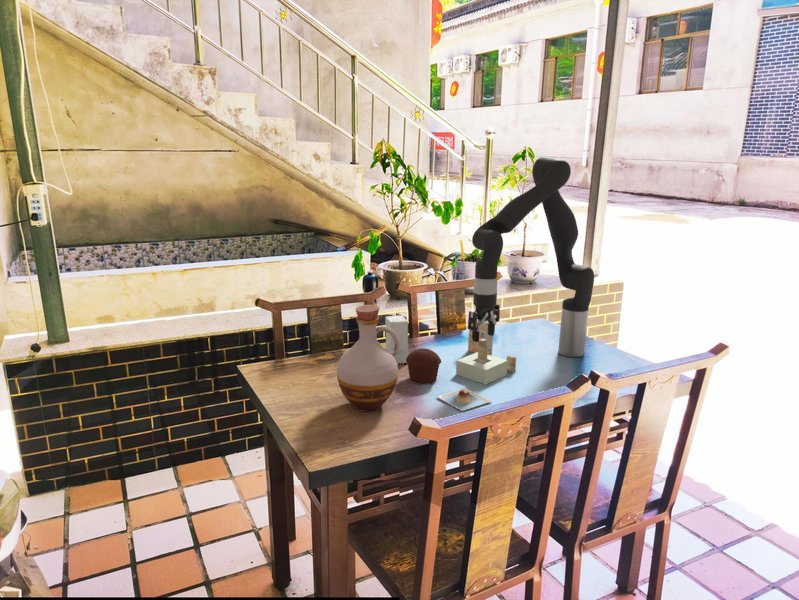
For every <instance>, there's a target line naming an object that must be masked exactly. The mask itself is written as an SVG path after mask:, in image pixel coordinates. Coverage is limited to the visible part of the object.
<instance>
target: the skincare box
mask: <svg viewBox="0 0 799 600" xmlns="http://www.w3.org/2000/svg"><path fill="white" fill-rule="evenodd" d="M385 326H386V327H389V328H391V329H392V330H393V331H394V332H395V333H396V335H397V337H398V339H399V349H398V352H397V354H396V355H395V356H393V357H394V358H395V360H396V362H397V363H398V364H397V365H403V364H404V363H407V362H406V358H407V357H408V355H409V321H408V320H407V319H406V318H405V317H404V316H403V315H402V314H401V315H392V316H390V315H389V316H385ZM385 349H386V350H387V351H389V352H392V351H393V350H394V339H393V338H392V336H391V335H390V334H389V333H388V332H386V331H385ZM399 363H400V364H399ZM401 363H402V364H401ZM404 365H405V364H404Z"/></svg>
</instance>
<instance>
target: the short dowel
mask: <svg viewBox="0 0 799 600" xmlns="http://www.w3.org/2000/svg"><path fill="white" fill-rule="evenodd" d="M506 360H507V372H508V373H515V372H516V369H517V356H515V355H509V354H508V355H506Z"/></svg>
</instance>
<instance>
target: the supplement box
mask: <svg viewBox="0 0 799 600" xmlns="http://www.w3.org/2000/svg"><path fill="white" fill-rule="evenodd" d="M477 321H478V319H477ZM479 322H480V321H479ZM488 324H489V323H488V321H486V322H484V323H483V325H482V326H481V327H480V329H479V339H486V340H488V355H491V356H492V355H493V345H494V335H493V336H491V335H488ZM472 325H473V323H471V326H472ZM477 326H478V324H476V327H477ZM467 343H468V344H467V345H468V346H467V351H468V352H470V353H472V354H474V353H476V352H478V342H474V341H473V340H472V330H469V329H468V342H467Z"/></svg>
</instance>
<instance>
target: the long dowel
mask: <svg viewBox="0 0 799 600" xmlns="http://www.w3.org/2000/svg"><path fill="white" fill-rule="evenodd" d="M487 355H488V340H486V339H479V342H478V360H477V362H479V363H482V364H485V363H487Z"/></svg>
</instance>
